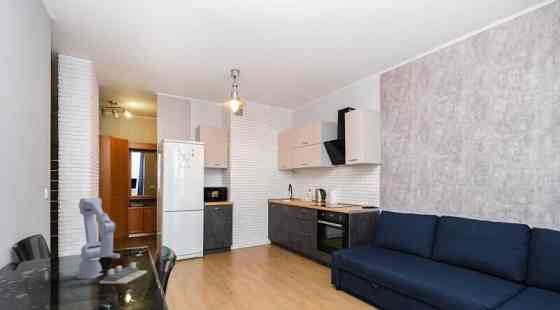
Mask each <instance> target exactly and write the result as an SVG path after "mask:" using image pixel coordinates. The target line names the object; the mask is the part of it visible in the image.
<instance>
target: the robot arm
mask: <svg viewBox="0 0 560 310" xmlns="http://www.w3.org/2000/svg"><path fill="white" fill-rule="evenodd" d="M102 205H103V201H102V198H101V197H86V198H85V197H81V199H80V200H79V204H78V207H79V213H80V214H81V215H82V217H83V225H84V231H85V232H84V234H85V240H86V243H85V244H84V245H83V246H82V247H81V250H80V251H81V253H80V257H81V260H82V261H81V262H80V263H79V265H78V276H77V277H76V278H77V279H82V280H83V279H90V280H91V279H95V278H97V277H100V276H102V275H104V273H105V274H107V273H108V270H110V269H109V268H110V266H111V264H112V262H113V260H114V259H120V258H121V253H115V252H114V233H116V229H117V224H116V222H115V221H113V220H111V218H109V214H108V213H105V212H104V210H103V207H102ZM95 222H96V223H97V224H98V226H99V228H98V233H99V238H100V241H99V240H98V238H97V231H96V224H95ZM100 264H101V267H102V271H101V272H102V273H100V272H99V270H100Z"/></svg>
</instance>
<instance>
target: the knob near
mask: <svg viewBox="0 0 560 310" xmlns="http://www.w3.org/2000/svg"><path fill="white" fill-rule="evenodd" d="M115 271H116V268H110V269H108V272H107V276H108V275H112V274H114V273H115Z"/></svg>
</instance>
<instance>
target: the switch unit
mask: <svg viewBox="0 0 560 310" xmlns="http://www.w3.org/2000/svg"><path fill="white" fill-rule="evenodd" d="M147 273H148V270H139V266H138V267H137V266H136V267H135V268H133V269H130V266H126V267H125V268H122V270H121V271H119V272H116V271H114V274H112V275H108V274H107V275H106V276H104V277H103V279H102V280H99V284H115V285H116V284H117V285H118V284H120V285H122V284H123V285H125V284H127V283H129V282H131V281H133V280H135V279H137V278H138V277H141V276H142V275H145V274H147Z"/></svg>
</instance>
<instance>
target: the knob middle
mask: <svg viewBox="0 0 560 310" xmlns="http://www.w3.org/2000/svg"><path fill="white" fill-rule="evenodd" d="M122 269H123V265H118V266H115V272H119V271H121V270H122Z"/></svg>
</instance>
